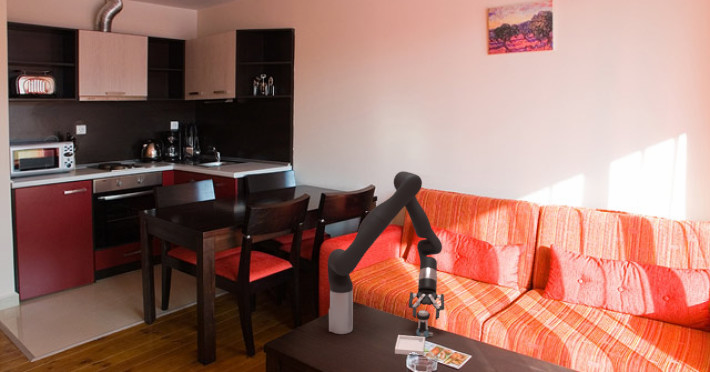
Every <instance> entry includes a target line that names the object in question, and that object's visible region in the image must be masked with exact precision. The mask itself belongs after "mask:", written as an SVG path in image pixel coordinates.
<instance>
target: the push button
mask: <svg viewBox="0 0 710 372" xmlns="http://www.w3.org/2000/svg"><path fill="white" fill-rule="evenodd" d="M430 318H431V313H430V312H429V311H428V310H423V309H421V310H419V311H418V312H416V319H418V327H417V329H416V336H418V337H425V338H429V337H433V336H434V335H433V334H434V333H433V332H430V328H429V327H428V323H429V319H430Z"/></svg>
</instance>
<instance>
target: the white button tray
mask: <svg viewBox="0 0 710 372" xmlns="http://www.w3.org/2000/svg"><path fill="white" fill-rule="evenodd" d="M425 344H426V337H421V336H417V335H415V336H414V335H404V334H403V335H402V334H398V335H397V338H396V343H395V347H394V354H395V355H407V356H409V355H408V354H409V353H412V352H415V353H417V354H419V355H423V356H424V353H425Z"/></svg>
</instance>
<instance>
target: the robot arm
mask: <svg viewBox="0 0 710 372" xmlns="http://www.w3.org/2000/svg"><path fill="white" fill-rule="evenodd" d="M393 178H394V179H393V186H394V187H393V188H394V189H395V192H394V193H393V194H392V196H390V197H389V198H388V199H386V200H384V201H383V202H381V203H380V204H378V205H376V206H375V207H374V208H372V209H371V211H369V212H368V214H367V215H366V216H365V218H363V219H362V220H361V221H362V222H361V223H360V225H359V227H358V230H357V233H356V235H355V238H354V240H353V241H352V242H351V243H350V245H349V246H348V247H347V248H346V249H345V250H344V248H343V249H342V248H336V249H333V250H332V251H331V252H330V253H329V256H328V258H327V277H328V278H327V280H328V284H329V308H328V332H329V333H330V332H331V333H334V334H336V335H337V334H338V335H345V334H349V333H351V332H352V331H353V330H354V329H353V328H354V327H353V326H354V325H353V324H354V322H353V321H354V319H353V318H354V314H353V313H354V309H353V308H354V306H353V305H354V301H353V300H354V299H353V297H354V296H353V295H354V294H353V293H354V288H353V287H354V284H353V280H352V278H351V276H350V275H351V274H352V272H354V270H355V269H356V268H357V266H359V264H360V261H362V259H363V257H364V256H365V254H366V253H367V251H368V250H370V248H371V247H372V245H373V244H374V243H375V242H376V241H377V239H378V238H380V236H381V235H382V234H383V232H384V231H385V230H386V229H387V228H388V227H389V226H390V225H391V222H393V220H394V219H395V218H396V217H397V216H398V214H400V212H401V211H402V210H403V208H405V209H406V211H407V213H408V216H409V218H410V220H411V224H412V227H413V229H414V232H415V235H416V236H417V237H418V238H419V239H420V238H421V239H420V240H419V241H418V242H417V245H416V248H417V252H418V256H419V261H420V262H419V264H420V265H419V274H418V283H417V284H418V285H417V287H418V288H417V293H416V292H415V293H414V292H413V291H410V292H409V299H408V308H410V309H412V317H413V318H414V319H417V308H418V307H420V306H421V305H423V306H425V305H427V306H431V305H432V306H433V308H434V309H435V320H437V321H438V319H440V311H444V310H445V295H444V294H443V293H441V294H437V287H438V285H437V284H438V274H437V273H438V272H437V268H438V260H437V259H436V258H435V257H431V256H432V255H438V254H441V253H442V250H443V245H442V242H441V239H440V238H439V237H438V235H437V234H436V233H435V231H434V230H433V228H432V226H431V221H430V219H429V218H428V215H427V213H426V211H425V209H423V207H422V205H421V204H420V202H419V200H418V199H417V197H416V196H417V195H418V194H419V192H420V191H421V189H422V186H423V181H422V178H421V177H420V176H419V175H418V174H415V173H412V172H408V171H399V172H398V173H396V175H395V176H394V177H393ZM415 298H417V299H416V302H415V303H414V304H413V301H414V299H415ZM436 300H439V301H440V305H439V304H438V303H437V301H436Z"/></svg>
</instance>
